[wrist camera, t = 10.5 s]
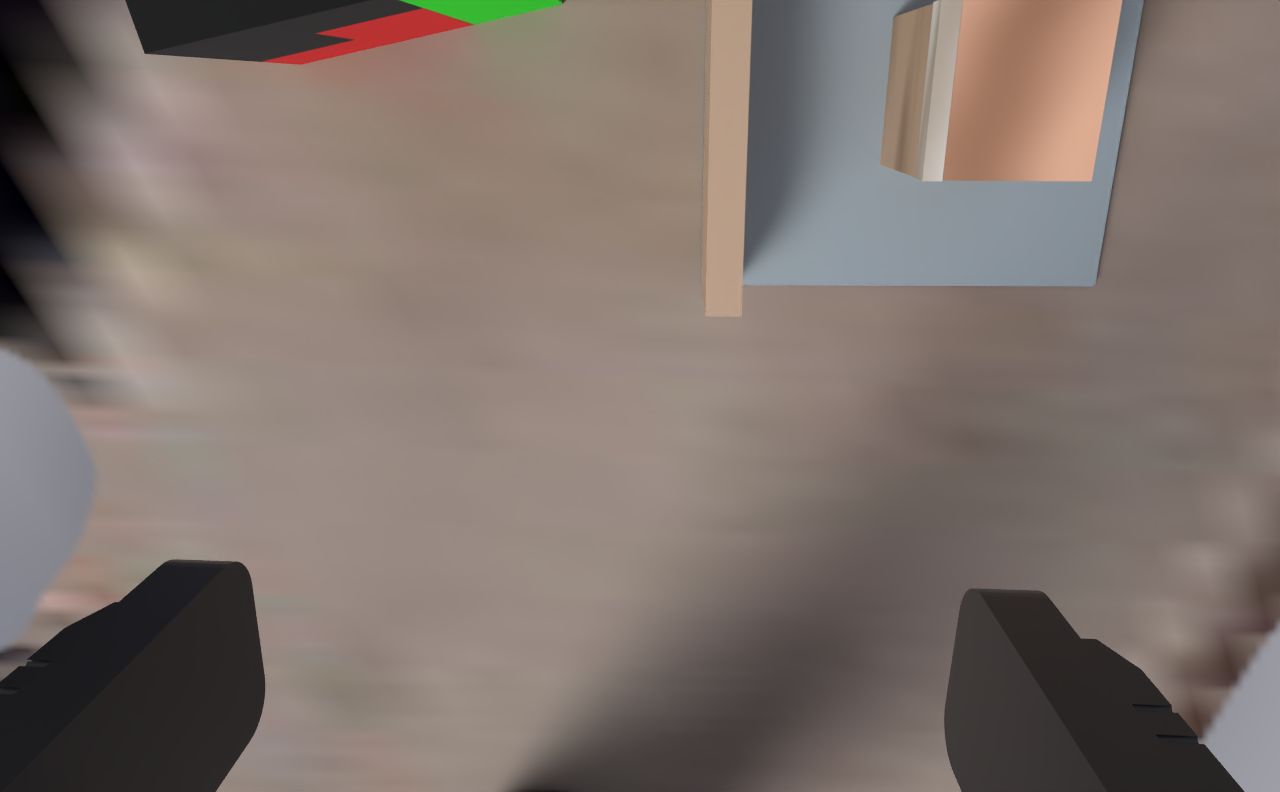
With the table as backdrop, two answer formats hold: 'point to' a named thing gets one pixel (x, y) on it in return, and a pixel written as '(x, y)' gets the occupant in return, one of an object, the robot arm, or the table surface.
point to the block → (998, 89)
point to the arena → (867, 167)
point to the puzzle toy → (303, 25)
